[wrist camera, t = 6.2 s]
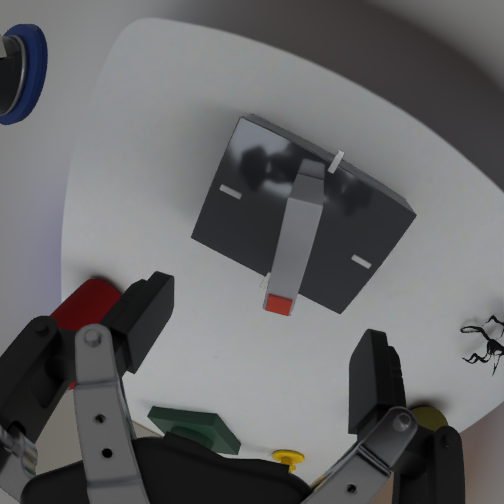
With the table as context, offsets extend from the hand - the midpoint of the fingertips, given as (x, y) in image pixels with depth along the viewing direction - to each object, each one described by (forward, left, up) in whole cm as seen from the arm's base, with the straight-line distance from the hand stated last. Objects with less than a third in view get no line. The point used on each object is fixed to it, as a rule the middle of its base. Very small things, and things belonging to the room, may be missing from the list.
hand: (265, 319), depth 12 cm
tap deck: (+1, 0, -11) cm, 11 cm away
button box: (-23, -31, -11) cm, 40 cm away
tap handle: (+1, 0, -8) cm, 8 cm away
